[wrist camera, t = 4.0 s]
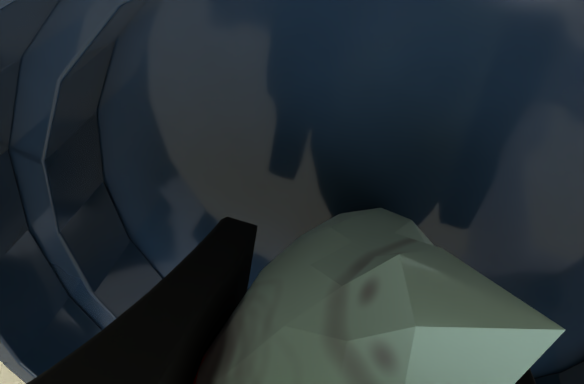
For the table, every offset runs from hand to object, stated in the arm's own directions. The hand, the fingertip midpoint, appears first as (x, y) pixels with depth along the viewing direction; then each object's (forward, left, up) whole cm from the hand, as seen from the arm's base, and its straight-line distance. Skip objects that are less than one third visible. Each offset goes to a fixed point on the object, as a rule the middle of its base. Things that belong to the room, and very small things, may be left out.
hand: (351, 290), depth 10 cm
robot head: (0, 0, -2) cm, 2 cm away
